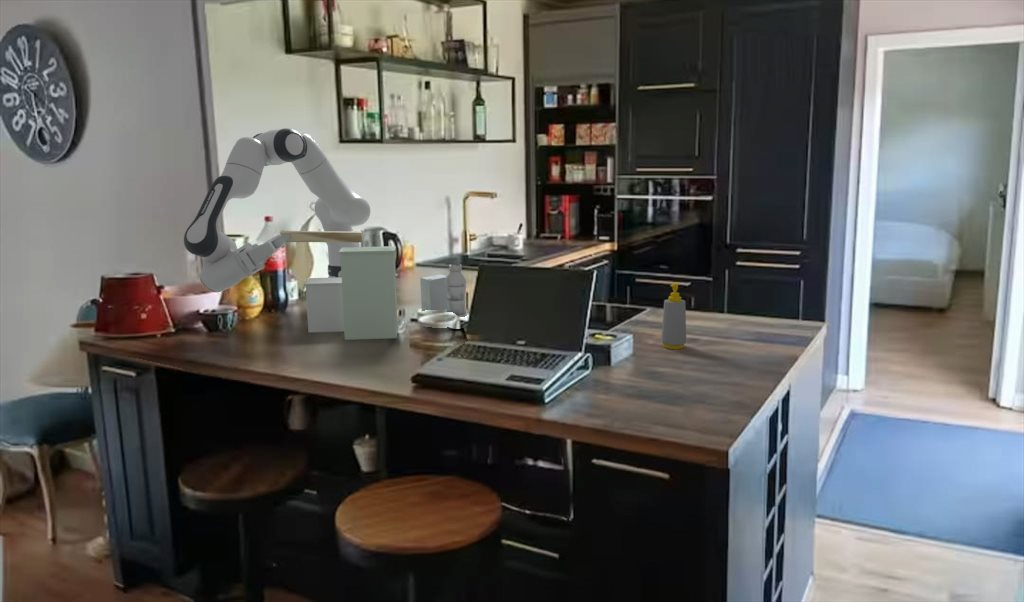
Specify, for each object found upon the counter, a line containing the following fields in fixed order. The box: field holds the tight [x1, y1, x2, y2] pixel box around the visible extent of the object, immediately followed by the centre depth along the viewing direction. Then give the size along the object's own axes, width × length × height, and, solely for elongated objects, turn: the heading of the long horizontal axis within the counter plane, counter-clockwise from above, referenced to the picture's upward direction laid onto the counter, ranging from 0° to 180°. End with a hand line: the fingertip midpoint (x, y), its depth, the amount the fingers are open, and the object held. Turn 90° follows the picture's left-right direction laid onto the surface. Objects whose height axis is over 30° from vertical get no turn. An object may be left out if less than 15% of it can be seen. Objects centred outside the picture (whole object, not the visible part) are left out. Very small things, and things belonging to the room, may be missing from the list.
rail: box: [279, 230, 363, 243], centre depth 243 cm, size 3×24×3 cm, turn 96°
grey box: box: [304, 277, 344, 334], centre depth 247 cm, size 10×12×15 cm
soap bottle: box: [660, 281, 687, 350], centre depth 220 cm, size 7×7×18 cm
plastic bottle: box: [445, 263, 468, 317], centre depth 244 cm, size 6×7×20 cm
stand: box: [339, 245, 399, 341], centre depth 236 cm, size 10×16×26 cm, turn 96°
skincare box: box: [419, 273, 448, 312], centre depth 254 cm, size 8×6×15 cm
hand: (290, 234), depth 242 cm, fingers closed on rail, 3 cm apart
